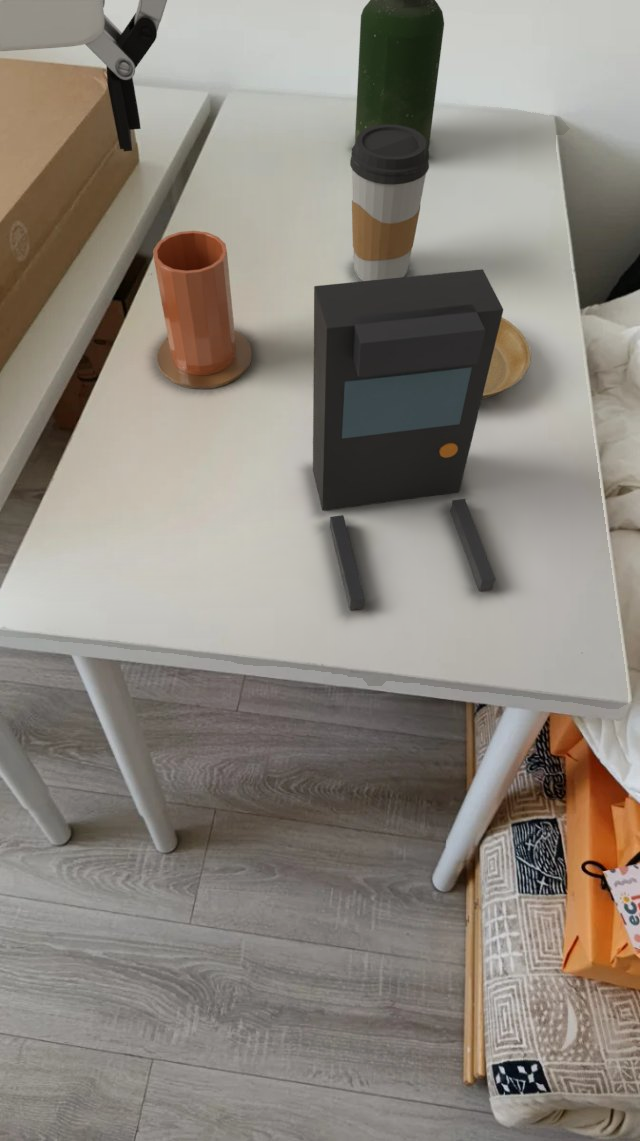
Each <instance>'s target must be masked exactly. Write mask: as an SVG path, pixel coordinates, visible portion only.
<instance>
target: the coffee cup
mask: <svg viewBox="0 0 640 1141" xmlns="http://www.w3.org/2000/svg"><path fill="white" fill-rule="evenodd" d="M429 160H430V150H428V149H427V147H426V139H425V137H424V136H423V135H422V134H421V133H420V132H418V131H416V130H414V129H412V128H409V127H406V126H401V125H390V124H386V125H377V126H373V127H369V128H367V129H365V130H363V131H362V132H361V133H359V135H358V136H357V139H356V143H355V142H354V145H352V148H351V156H350V160H349V166H350V167H351V179H352V180H351V181H352V183H351V187H352V189H351V190H352V200H351V225H352V227H351V228H352V248H353V269H354V272H355V273H356V275H357V277H358V278H359V279H360V280H361V281H370V280H380V279H390V278H401V277H405V275H407V272H408V270H409V265H410V261H411V255H412V250H413V247H414V243H415V237H416V232H417V226H418V220H419V216H420V212H421V202H422V196H423V192H424V186H425V182H426V174H427V173H428V171H429V169H430V161H429Z"/></svg>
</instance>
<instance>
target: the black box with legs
mask: <svg viewBox="0 0 640 1141" xmlns="http://www.w3.org/2000/svg"><path fill="white" fill-rule="evenodd" d="M503 313H504V308H503V306H502V303H501V302H500V300H499V298H498V296H497V294H496V292H495V290H494V288H493V285H491V282H490V280H489V278H488V277H487V274H486V273H485V271H484V269H483V268H482V269H481V268H480V269H472V270H462V271H461V270H460V271H452V272H442V273H432V274H431V273H430V274H420V275H413V276H412V275H410V276H404V277H401V278H390V279H380V280H370V281H362V280H361V281H353V282H352V281H351V282H341V283H331V284H322V285H321V284H320V285H314V286H313V381H312V382H313V385H312V386H313V388H312V390H313V391H312V392H313V393H312V394H313V396H312V397H313V398H312V399H313V400H312V401H313V402H312V404H313V405H312V407H313V408H312V421H313V422H312V473H313V477H314V482H315V486H316V490H317V494H318V499H319V502H320V506H321V510H322V511H328V510H336V509H342V508H352V507H357V506H359V507H360V506H365V505H366V506H367V505H373V504H374V505H375V504H381V503H388V502H389V503H390V502H396V501H405V500H410V499H411V500H412V499H418V498H425V497H433V496H434V497H435V496H440V495H449V494H455V493H460V491H461V486H462V483H463V479H464V474H465V471H466V466H467V462H468V458H469V454H470V451H471V450H470V449H471V446H472V441H473V437H474V433H475V430H476V424H477V420H478V416H479V412H480V408H481V404H482V400H483V399H482V396H483V392H484V388H485V384H486V380H487V376H488V371H489V367H490V363H491V359H492V355H493V351H494V347H495V343H496V338H497V334H498V330H499V326H500V322H501V318H503ZM449 512H450V514H451V517H452V518H451V519H452V520H453V523H454V525H455V529H456V532H457V534H458V537H459V539H460V542H461V545H462V547H463V551H464V553H465V556H466V559H467V562H468V564H469V567H470V570H471V573H472V575H473V578H474V581H475V584H476V587H477V589H478V592H483V591H484V592H485V591H491V590H493V589H494V586H495V583H496V580H497V579H496V575H495V574H494V571H493V569H492V566H491V563H490V561H489V558H488V555H487V552H486V550H485V547H484V544H483V543H482V539H481V537H480V534H479V531H478V529H477V526H476V524H475V521H474V519H473V516H472V513H471V511H470V508H469V505H468V503H467V501H466V498H461V499H459V498H458V499H452V501H451V504H450V508H449ZM329 530H330V534H331V538H332V542H333V546H334V550H335V555H336V560H337V564H338V567H339V572H340V575H341V579H342V584H343V588H344V592H345V595H346V600H347V605H348V609H349V611H356V610H362V609H364V608H365V600H366V599H365V594H364V590H363V585H362V582H361V579H360V574H359V571H358V566H357V563H356V560H355V555H354V551H353V548H352V542H351V540H350V535H349V533H348V527H347V525H346V521H345V516H344V515H342V514H341V515H334V516H330V517H329Z"/></svg>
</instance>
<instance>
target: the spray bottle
mask: <svg viewBox="0 0 640 1141" xmlns="http://www.w3.org/2000/svg"><path fill="white" fill-rule="evenodd" d="M359 27H360V28H359V45H358V47H359V48H358V67H357V69H358V70H357V87H356V88H357V89H356V110H355V111H356V112H355V130H354V131H355V132H354V144H355V143H356V139H357V136H358V135H359V133H361V132H362V131H363V130H365V129H367V128H369V127H373V126H377V125H386V124H390V125H401V126H406V127H409V128H412V129H414V130H416V131H418V132H420V133H421V134H422V135H423V136H424V137H425V139H426V147H427V149H428V151H430V150H429V149H430V141H431V134H432V126H433V125H432V124H433V118H434V109H435V102H436V94H437V84H438V76H439V69H440V62H441V55H442V54H441V53H442V47H443V46H442V44H443V37H444V30H445V18H444V12H443V10H442V8H441V7H440V5H439V3H438V2H437V1H436V0H369V1H368V2H367V3H366V5H365V6H364V7H363V9H362V12H361V15H360V26H359Z"/></svg>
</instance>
